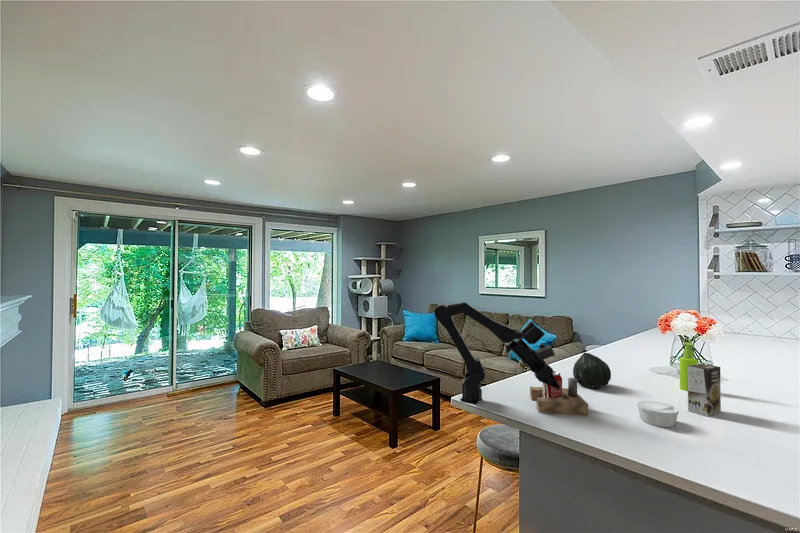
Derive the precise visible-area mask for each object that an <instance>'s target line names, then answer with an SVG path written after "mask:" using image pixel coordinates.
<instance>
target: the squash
mask: <svg viewBox="0 0 800 533" xmlns="http://www.w3.org/2000/svg"><path fill="white" fill-rule="evenodd" d="M611 371H612V370H611V368H610V366H609V365H608V364H607V363H606V361H604V360H602V359H601V358H600V357H598V356H596V355H593V354H592V353H589V352H583V353H582V354H581V355H580V357H579V358H578V359H577V360H576V361H575V363H574V364H573V369H572V375H573V378H575V379H577V384H579V385H581V386H583V387H586V388H589V389H592V388H595V389H600V388H601V387H605V386H607V385H608V384H609V382H611V379H612V372H611Z"/></svg>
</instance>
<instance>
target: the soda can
mask: <svg viewBox="0 0 800 533" xmlns="http://www.w3.org/2000/svg"><path fill="white" fill-rule="evenodd" d="M553 377H554V378H555V380H556V381H557V383H558V384H559V386H560V388H559V389H557V388H554V387H552V386H550V385H548V384H545V383H543V382H542V387H543V398H558V399H562V388H563V378H562V376H561V372H559V371H555V370H553Z"/></svg>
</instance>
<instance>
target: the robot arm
mask: <svg viewBox="0 0 800 533" xmlns="http://www.w3.org/2000/svg"><path fill="white" fill-rule="evenodd" d="M460 314H464V315H466V316H468V318H471V319H472V320H474V321H475V322H477V323H478V324H480V325H481V326H483V327H485V328H486V329H488V330H489V331H491V333H493V335H495V336H496V337H497V338H498V339H499V340H500V341H501V342H502V343H504V347H505V349H504V350H505V352H506V353H507V354H508V353H510V352H513V354H515V355H516V357H517V358H518V359H519V360H521V362H522V363H523V364H524V365H525V366H526V367H527V368H529V370H530V371H531V373H533V375H534V377H535V378H536V379H537V380H538V381H539V382H540V383H542V384H543V383H545V384H548V385H550V386H552V387H554V388H557V389H559V388H560V386H559V384H558V383H557V381H556V380H555V378H554V377H553V371H554V369H553V368H552V367H551V366H550V365H549V364H548V363H546V361H545V360H546V359H549V358H551V357H555V356H556V354H555V351H554V349H553V347H552V346H551V345H548V344H547V345H545V344H544V343H541V344H539V346H538V349H536V350H534V349H533V348H532V347H530V345H535V344H536V343H538V342H539V340H541V339H542V338H543V337H544V336H546V334H545V333H544V331H542V330H541V328H539V327H538V326H537V325H535V324H534V322H532V321H529V322H528V323H527V325H526V326H525V327H524V328H523V329H522V330H519V329H514V328H513V329H512V328H511V327H510V326H509V325H507V324H504V323H501V322H498V321H496V320H493V319H492V318H490V317H489V316H487V315H485V314H484V313H482V312H481V311H479V310H478V309H476V308H475V307H473V306H471V305H470V304H469V303H468V302H466V301H462V302H460V303H453V304H448V305H446V304H439V305H437V306H436V307H435V309H434V314H433V315H434V317H435V319H437V321H438V322H439V323H440V324H441V325H442V327H443V328H444V329H445V330H446V332H447V333H448V335H449V337H450V338H451V340H452V342H453V344H454V345H455V347H456V349H457V351H458V353H459V355H460V356H461V358H462V360H463V361H464V364H465V368H466V371H467V372H466V373H465V374H464V375H463V383H462V384H461V385H462V386H461V388H462V390H461V393H462V394H461V396H462V397H461V398H460V399H459V400H461V402H465V403H469V404H472V405H476V404H478V403H480V402H481V401H483V400H484V399H483V394H482V393H483V392H482V391H483V390H482V388H481V386H482V385H481V383H482V382H483V381H484V379H485V378H486V372H485V371H486V368H485V365H484V364H483V363H482V362H481V360H480V357H479V356H477V357H475V356H474V355H473V354H472V352H471V350H470V349H469V347H468V345H467V343H466V341H465V340H464V337H463V336H462V335H461V332H460V331H459V329H458V328H457V326H456V323H455V322H454V319H453V316H457V315H460ZM523 339H524V340H525V341H524V340H523ZM526 342H527V343H526ZM505 343H506V344H505ZM528 344H529V345H528Z"/></svg>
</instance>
